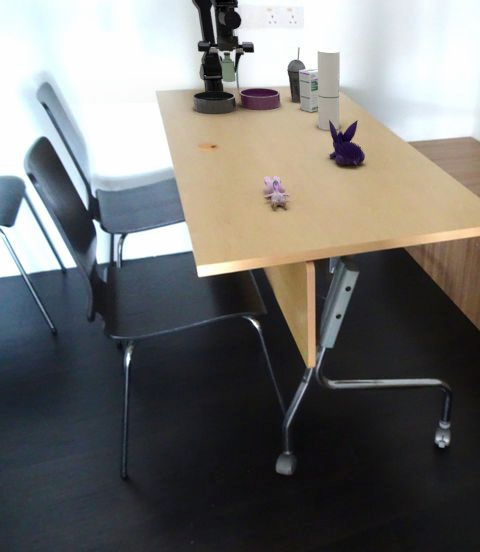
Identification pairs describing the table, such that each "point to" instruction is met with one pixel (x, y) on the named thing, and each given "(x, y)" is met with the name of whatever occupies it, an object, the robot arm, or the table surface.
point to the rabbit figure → (275, 191)
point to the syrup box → (309, 89)
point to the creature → (346, 146)
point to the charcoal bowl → (214, 102)
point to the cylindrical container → (328, 88)
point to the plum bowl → (259, 98)
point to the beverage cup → (295, 78)
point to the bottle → (228, 68)
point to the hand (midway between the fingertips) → (228, 72)
